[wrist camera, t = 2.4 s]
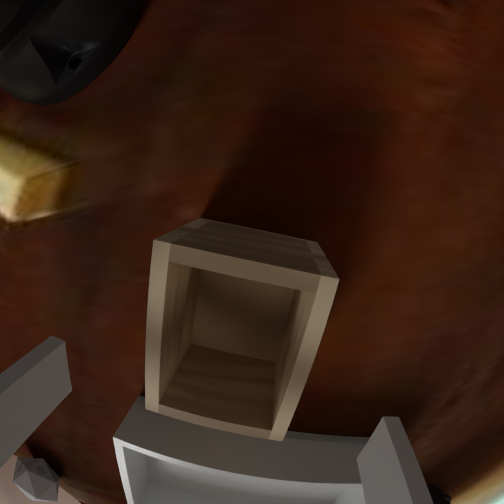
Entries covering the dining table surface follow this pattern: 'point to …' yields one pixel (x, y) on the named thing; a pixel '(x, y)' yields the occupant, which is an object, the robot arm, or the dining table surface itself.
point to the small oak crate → (234, 325)
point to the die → (36, 479)
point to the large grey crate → (232, 464)
